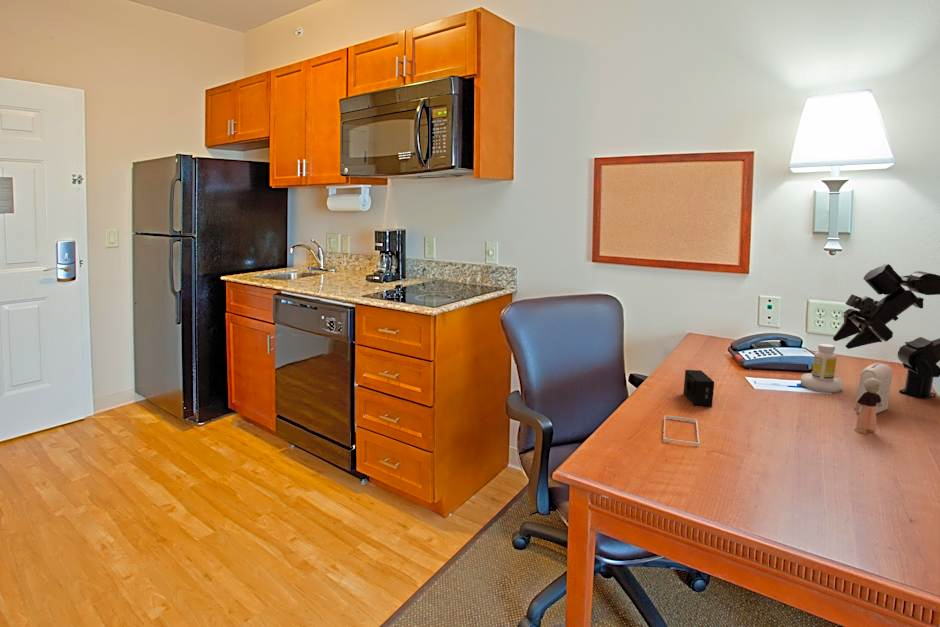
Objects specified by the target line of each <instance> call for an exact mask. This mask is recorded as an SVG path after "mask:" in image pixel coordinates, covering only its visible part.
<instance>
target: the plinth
mask: <svg viewBox="0 0 940 627" xmlns="http://www.w3.org/2000/svg"><path fill="white" fill-rule="evenodd" d="M800 385H801V386H802V387H803V386H804V387H803V388H805V387H806V388H805V389H808V388H810V389H809V390H811V389H813V391H816V390H817V392H821V391H823V393H839V392H842V386H843V379H841V378H839V377H837V376H834V379H833V380H832V381H823V380H818V379H815V378H813V377H812V372H811V373H807V372H806V373H803V374H801V378H800Z"/></svg>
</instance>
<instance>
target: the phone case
mask: <svg viewBox="0 0 940 627" xmlns="http://www.w3.org/2000/svg"><path fill="white" fill-rule="evenodd" d="M665 419H666V420H670V419H673V420H672V421H678V420H680V422H686V421H689V422H688V423H694V422H695V423H696V424H695V423H694V424H695V426H696V428H695V429H696V431H697V432H696V439H697V441H698V442H695V441H687V440H680V439H674V438H667V437H666V420H665ZM663 432H664V433H663ZM663 432H662V433H663V438H662V439H663V440H662V441H663V442H664V443H666V442H669V443H670V442H675V443H676V442H677V443H685V444H692V446H693V445H694V446H693V447H695V446H698V447H700V436H699V424H698V420H697V419H696V418H692V417H691V418H689V417H682V416H681V417H680V416H676V415H664V416H663Z"/></svg>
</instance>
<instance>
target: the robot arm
mask: <svg viewBox="0 0 940 627" xmlns="http://www.w3.org/2000/svg"><path fill="white" fill-rule="evenodd" d="M863 281H865V282H866V284H868V285H869V287H871V288H872V289H873V290H874V292H875V293H876V294H877V295H880V296H881V295H884V297H883V298H882V299H880V300H879V301H878V300H875V299H874V298H871V297H869V296H867V295H866V296H863V297H861V296H858V295H855V294H850V296H849V297H848V298H847V301H846V302H845V305H847V306H849V307H851V308H848V309H847V310H845V311H844V312H843V316H842V318H843V323H842V325H841V326H840V328H839V329H838V331H837V332H836V333H835V334H834V336H833V337H832V340H833V341H834V342H838V341H841V340H844V339H846V338H849V337H852V336H854V335H855V336H854V337H852V339H850V340H849V341H848V342H847V343H846V344H845V348H846V349H847V350H850V349H853V348H857V347H862V346H867V345H870V344H876V343H882V342H888V341H889V340H891V339H892V338H893V336H894V335H893V334H894V331H892V329H890V328H889V327H888V325H887V324H888V323H889V322H891V321H894V322H896V321H897V320H899V317H898V316H899V315H900V314H902V313H903V312H905V311H907V310H908V309H909V308H911V307H912V306H913V307H915V308H919V309H923V308H924V299H925V298H923V297H919V296H917V295H916V294H915V293H917V294H921V295H924V296H935V295H937V296H938V295H939V296H940V275H939V274H937V273H935V274H934V273H930V272H925V271H920V270H917V271H913V272H912V273H911V274H908V275H902V276H901V275H899V274H898V273H897V272H896V271H895V270H894V267H892V266H891V265H890V264H889V263H883V264H882V265H881V266H878V267H876V268H873V269H871V270H870V271H867V273H866V274H865V275H864V276H863ZM904 287H907V289H906V288H904ZM904 343H905V344H904V345H901V346H900V347H899V349H898V352H897V357H898V360H899V361H900V362H902V367H903V369H906V370H907V371H906V379H905V384H904V388H902V389H899V390H898V392H899V393H901V394H906V395H910V396H914V397H917V396H918V397H917V398H921V397H923V398H922V399H929V398H931V397H930V396H932V395H935V396H936V395H937V393H936V392H932V387H933V383H934V378H939V377H940V366H939V365H938V363H939V362H940V337H939V338H936V339H934V340H930V339H926V338H925V337H922V336H920V337H917V338H915V339H913V340H911V341H905V342H904ZM928 397H929V398H928ZM932 397H933V396H932Z"/></svg>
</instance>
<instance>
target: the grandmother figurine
mask: <svg viewBox="0 0 940 627" xmlns="http://www.w3.org/2000/svg"><path fill="white" fill-rule="evenodd" d="M880 386H881V382H880V381H879V380H878V379H875V378H869V379H866V380H865V381H864V387H865V388H866V391H867V392H865V393H864V394H863V395H862V396H861V397H860V398H859V400H858V401H857V400H856V402H857V403H855V406H853V410H854V411H855V412H857V411H858V410H859V408H860V407H861V405H862V409H861V411H860V413H858V416H857V420H856V425H855V426H856V427H854V429H853V430H854V431H855V432H857V433H860V434H863V435H864V434H868V433H875V432H876V430H877V413H876V404H877V407H882V404H881V398H880V396H879V395H878V394H877V392H878V391H879V387H880Z"/></svg>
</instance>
